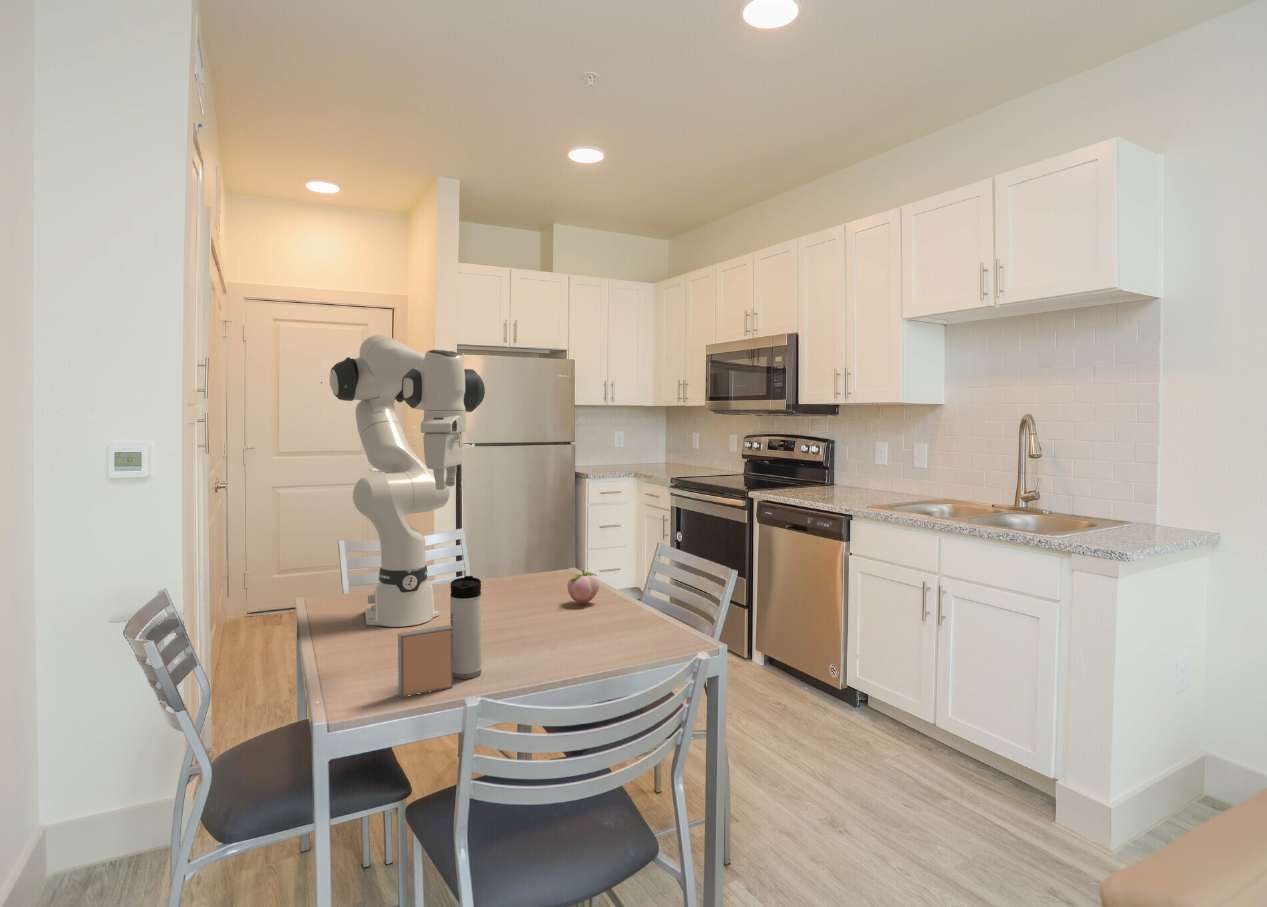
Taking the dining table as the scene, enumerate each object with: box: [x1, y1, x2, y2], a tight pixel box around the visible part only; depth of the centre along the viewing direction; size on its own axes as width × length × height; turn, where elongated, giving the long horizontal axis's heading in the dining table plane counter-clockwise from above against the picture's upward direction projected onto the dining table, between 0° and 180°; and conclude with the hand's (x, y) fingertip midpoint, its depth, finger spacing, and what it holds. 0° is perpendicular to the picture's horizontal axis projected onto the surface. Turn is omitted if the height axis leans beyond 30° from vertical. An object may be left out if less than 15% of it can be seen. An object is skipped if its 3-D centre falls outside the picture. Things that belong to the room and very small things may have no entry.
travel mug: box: [449, 575, 482, 680], centre depth 150 cm, size 6×7×20 cm
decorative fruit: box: [567, 569, 600, 605], centre depth 207 cm, size 9×8×10 cm
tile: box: [397, 625, 453, 698], centre depth 141 cm, size 2×10×12 cm, turn 123°
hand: (445, 487), depth 157 cm, fingers open, 8 cm apart
